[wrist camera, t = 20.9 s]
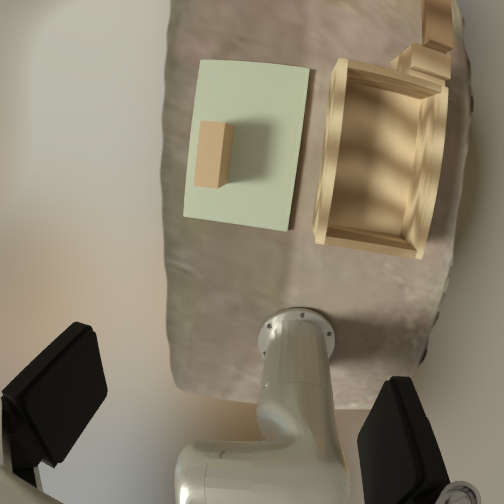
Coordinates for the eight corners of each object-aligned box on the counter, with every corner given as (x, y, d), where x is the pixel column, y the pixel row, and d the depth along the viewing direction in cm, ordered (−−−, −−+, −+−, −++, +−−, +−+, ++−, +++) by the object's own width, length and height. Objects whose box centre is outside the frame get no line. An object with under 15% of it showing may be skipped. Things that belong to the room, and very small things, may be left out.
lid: (287, 228, 45) (286, 244, 38) (186, 214, 46) (168, 226, 39) (309, 71, 37) (312, 55, 30) (203, 62, 38) (187, 47, 31)
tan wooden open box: (402, 241, 43) (426, 263, 34) (311, 226, 44) (316, 247, 35) (425, 71, 34) (454, 57, 25) (333, 48, 35) (343, 24, 26)
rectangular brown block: (444, 53, 25) (453, 48, 23) (422, 45, 25) (430, 39, 23) (441, 2, 22) (449, -5, 20) (420, -6, 23) (427, -14, 20)
